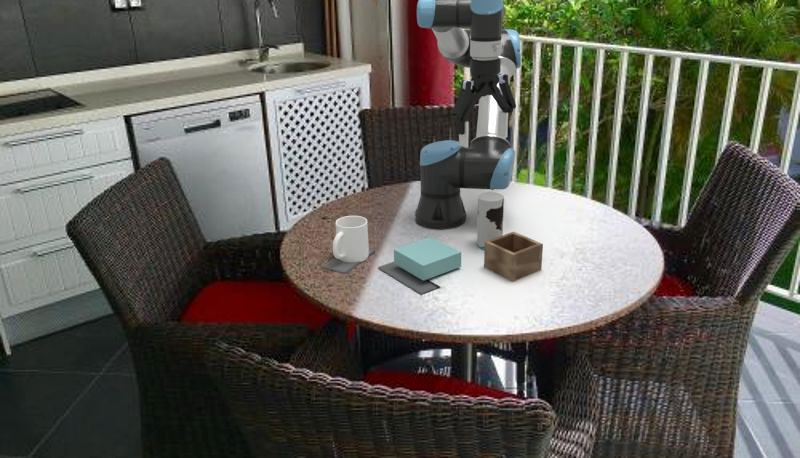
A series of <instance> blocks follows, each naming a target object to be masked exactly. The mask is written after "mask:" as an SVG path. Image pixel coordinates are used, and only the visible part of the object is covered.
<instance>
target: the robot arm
mask: <svg viewBox="0 0 800 458" xmlns="http://www.w3.org/2000/svg"><path fill="white" fill-rule="evenodd" d="M504 4H505V3H504V0H418V1H417V4H416V22H417V25H418V27H420V28H421V29H422V28H423V29H431V30H432V32H433V34H434V36H435V37H436V40H437V48H438V51H439V52H440V53H439V54H441V56H442V57H443V58H444V59H446V60H447V61H449V62H450V63H452V64H455V65H456V66H459V67H461V68H468V69H469V72H470V75H471V79H470V80H465V79H462V80H461V81H460V90H459V92H458V96H457V98H456V101H455V103H454V106H453V109H452V112H451V115H450V119H451V120H454V121H456V123H457V125H456V127H457V128H456V129H457V130H456V131H457V134H458V141H457V140H449V139H448V140H447V139H446V140H439V141H434V142H432V143H429V144H427V145H424V146H423V147H422V149H421V150H420V158H419V159H420V161H419V170H420V171H419V173H420V176H419V178H420V196H419V200H418V203H417V208H416V209H415V212H414V221H415V223H416V224H418V225H419V226H421V227H423V228H428V229H431V230H432V229H434V230H446V229H447V230H448V229H453V228H458V227H460V226H462V225H463V224H465V222H466V221H467V211H466V209H465V205H464V202H463V199H462V196H461V189H471V190H472V189H473V190H475V189H476V190H490V191H495V190H505V189H508V188H509V186H510V183H511V181H512V176H513V172H514V165H515V158H516V151H515V149H513V148H511V143H510V142H509V141H508V140H507V139H506V138H508V127H509V125H508V124H509V123H510V115H511V114H510V113H513V112H514V110H515V109H516V108H517V104H516V100H515V98H514V95H513V92H512V90H511V86H510V81H511V77H512V76H515V75H514V74H515V73H516V70H517V69H519V68H521V66H522V65H521V64H522V60H521V59H522V56H521V53H522V52H521V38H520V34H519V32H518V31H517V30H515V29H507V28H503V20H504V18H505V15H506V14H505V11H506V7H505V5H504ZM463 28H465V29H463ZM466 28H467V29H466ZM469 28H470V29H469ZM478 101H479V102H478ZM477 102H478V111H477V113H478V114H477V124H476V132H475V133H476V135H475V138H473V139H472V140H471V141H470V144H469V131H470V130H469V127H470V126H469V121H467V120H468V118H469V117H470V115H471V112H472V111H473V109H474V108H475V106H476V104H477Z"/></svg>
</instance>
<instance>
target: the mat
mask: <svg viewBox="0 0 800 458" xmlns="http://www.w3.org/2000/svg"><path fill="white" fill-rule="evenodd" d="M377 269H378V270H380V271H382V272H383V273H385V275H386V274H387V275H388V276H390V277H391V278H393V279H394V280H396V281H398V282H399V283H401V284H403V285H404V286H406V287H408V288H409V289H411V290H412V291H414V292H416V293H417V294H419V295H421V296H423V295H424V294H427V293H430V292H433V291H435V290H438V289H441V288H442V287H441V286H440V285H438V284H436V283H435V282H433V281H431V280H430V279H427V280H424V281H423V280H421V279H420V278H418V277H416V276H415V275H413V274H411V273H409V272H408V271H406V270H404V269H403V268H401V267H399V266H397V265H396V264H394V261H392V262H389V263H386V264H383V265H381V266H378V267H377Z"/></svg>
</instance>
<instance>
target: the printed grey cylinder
mask: <svg viewBox="0 0 800 458" xmlns="http://www.w3.org/2000/svg"><path fill="white" fill-rule="evenodd" d="M504 203H505V196H504V195H503V193H502V194H501V193H499V192H492V191H488V192H482V193H479V195H477V234H476V235H477V236H476V237H477V238H476V239H477V240H476V247H477V248H478V249H480V250H482V251H484V248H485V242H486V241H488V240H491V239H494V238H497V237H500V236H503V235H504V234H503V231H504V211H505V210H504V209H505V207H504V205H505V204H504Z"/></svg>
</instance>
